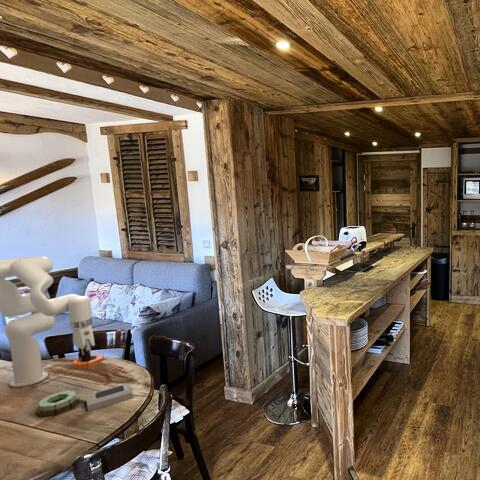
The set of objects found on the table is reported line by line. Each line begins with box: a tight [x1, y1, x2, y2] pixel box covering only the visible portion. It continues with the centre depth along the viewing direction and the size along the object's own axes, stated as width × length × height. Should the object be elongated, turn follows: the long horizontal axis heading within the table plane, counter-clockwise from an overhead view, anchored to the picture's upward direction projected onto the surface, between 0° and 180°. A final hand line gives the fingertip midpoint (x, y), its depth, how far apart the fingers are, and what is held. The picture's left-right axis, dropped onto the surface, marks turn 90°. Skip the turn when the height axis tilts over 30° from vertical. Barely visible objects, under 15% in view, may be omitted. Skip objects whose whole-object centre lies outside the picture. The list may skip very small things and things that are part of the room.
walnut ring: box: [36, 396, 80, 418], centre depth 150 cm, size 12×12×2 cm
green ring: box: [37, 390, 78, 411], centre depth 150 cm, size 11×11×2 cm
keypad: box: [85, 383, 133, 412], centre depth 156 cm, size 10×4×15 cm
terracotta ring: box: [72, 353, 105, 370], centre depth 163 cm, size 10×10×2 cm
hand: (84, 360), depth 165 cm, fingers closed on terracotta ring, 2 cm apart
